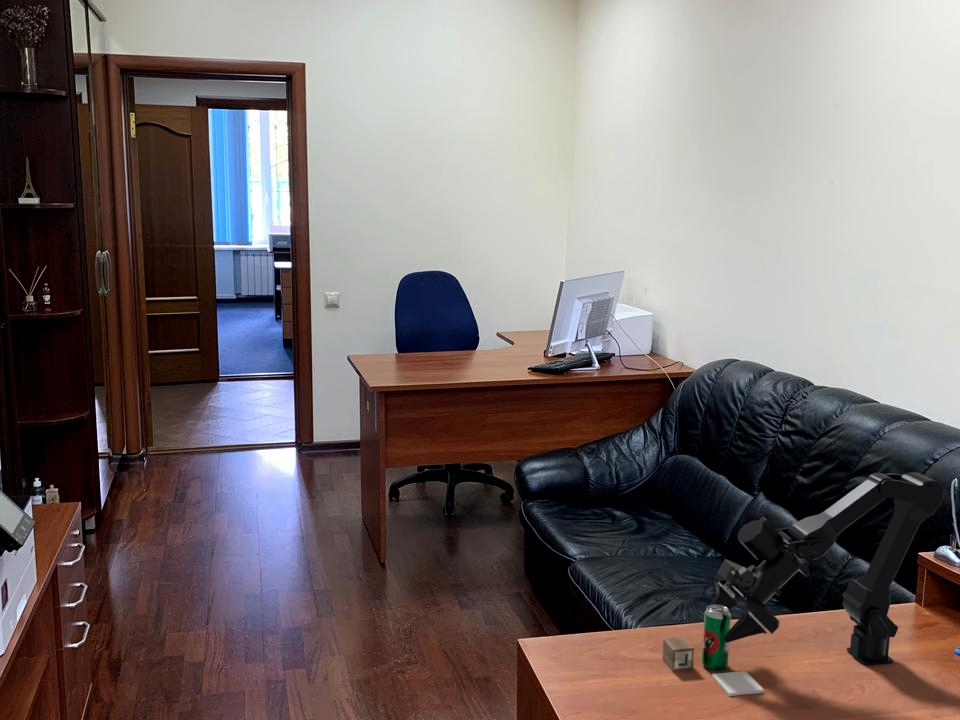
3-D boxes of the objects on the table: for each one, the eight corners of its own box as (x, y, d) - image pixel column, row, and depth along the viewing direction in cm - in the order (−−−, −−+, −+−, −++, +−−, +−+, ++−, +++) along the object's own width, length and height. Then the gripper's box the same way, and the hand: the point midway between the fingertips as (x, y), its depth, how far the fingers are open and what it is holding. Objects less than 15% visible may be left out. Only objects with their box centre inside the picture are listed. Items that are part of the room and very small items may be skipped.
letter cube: (683, 658, 178) (684, 637, 177) (693, 670, 173) (694, 648, 172) (662, 660, 177) (663, 639, 176) (672, 672, 172) (673, 650, 171)
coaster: (745, 673, 171) (745, 671, 171) (763, 692, 165) (763, 689, 165) (712, 677, 170) (712, 674, 170) (729, 696, 163) (729, 693, 163)
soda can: (728, 673, 172) (732, 615, 170) (702, 670, 173) (705, 613, 171) (726, 661, 176) (730, 604, 175) (701, 658, 177) (704, 602, 176)
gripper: (726, 531, 181) (671, 584, 181) (768, 566, 162) (707, 625, 162) (759, 566, 183) (706, 619, 183) (804, 605, 165) (745, 663, 165)
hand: (715, 630), depth 173 cm, fingers open, 9 cm apart
